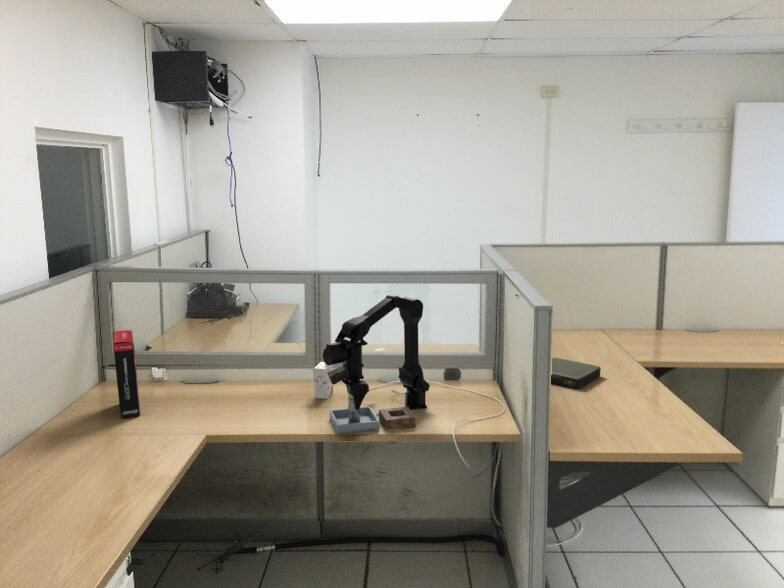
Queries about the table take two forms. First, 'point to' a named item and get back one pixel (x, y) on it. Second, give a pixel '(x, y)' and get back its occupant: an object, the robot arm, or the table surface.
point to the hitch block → (397, 418)
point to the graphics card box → (126, 373)
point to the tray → (366, 423)
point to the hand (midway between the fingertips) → (354, 404)
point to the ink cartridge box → (322, 381)
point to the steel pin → (352, 411)
